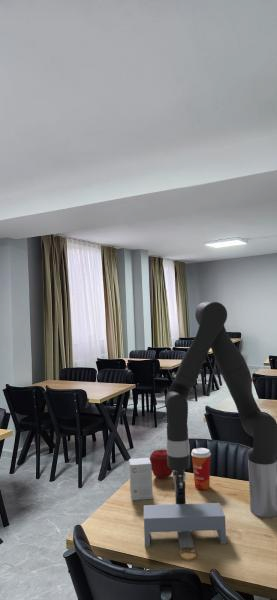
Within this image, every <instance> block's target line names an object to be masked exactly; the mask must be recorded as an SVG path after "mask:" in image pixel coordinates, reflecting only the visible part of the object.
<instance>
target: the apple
mask: <svg viewBox="0 0 277 600" xmlns="http://www.w3.org/2000/svg"><path fill="white" fill-rule="evenodd" d="M149 459H150V462H151V466H152V475H153V476H155V477H156V478H157V479H159V480H165V479H168V478H170V476H171V475H173V471H174V470H172V469H170V468H169V467H168V466H167V449H161V448H160V449H156V450H153V451H152V452H151V454H150V456H149Z"/></svg>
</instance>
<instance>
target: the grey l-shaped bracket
mask: <svg viewBox="0 0 277 600" xmlns="http://www.w3.org/2000/svg"><path fill="white" fill-rule="evenodd" d="M176 485H177V484H176ZM174 490H175V491H174V493H175V494H174V495H175V496H174V497H175V504H177V496H176V494H177V492H176V489H175V488H174ZM180 493H183V492H180ZM186 501H187V500H186V496H185V497H184V504H187V503H186ZM176 533H177V534H176V535H177V540H178V546H179V551H180V550H181V549H182V548H185V547H190V548H193V549H194V550H195V545H194V541H193V536H192V531H176Z"/></svg>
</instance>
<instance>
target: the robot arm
mask: <svg viewBox="0 0 277 600" xmlns="http://www.w3.org/2000/svg"><path fill="white" fill-rule="evenodd" d="M194 314H195V315H194V316H195V320H196V322H197V324H198V330H197V331H196V335H195V337H194V339H193V341H192V343H191V345H190V346H189V347H188V349H187V351H186V352H185V354H184V355H183V357H182V359H181V362H180V364H179V366H178V369H177V371H176V373H175V376H174V379H173V381H172V383H171V385H170V386H169V388H168V390H167V393H166V395H165V400H164V403H165V406H166V416H167V424H166V450H167V466H168V467H169V468H170V469H172V470H173V472H172V477H173V485H174V490H175V489H176V492H177V494H176V496H177V504H184V497H185V498H186V479H187V477H186V472H185V471H186V470H188V469H189V468H190V467H191V457H190V456H191V453H190V451H191V450H190V442H189V428H188V427H189V426H188V419H189V403H188V400H187V399H188V396H189V393H190V392H191V389H192V388H193V387H194V386H195V384H196V382H197V380H198V377H199V375H200V373H201V370H202V368H203V365H204V363H205V360H206V358H207V356H208V353H209V352H210V351H212V354H213V357H214V360H215V362H216V364H217V367H218V370H219V371H220V374H221V376H222V379H223V381H224V383H225V385H226V387H227V389H228V392H229V393H230V396H231V398H232V400H233V402H234V404H235V407H236V410H237V413H238V416H239V419H240V422H241V425H242V428H243V430H244V431H245V433H246V434H247V435H248V436H250V437H252V439H253V442H252V443H253V447H251V448H249V449H248V450H247V463H248V483H249V506H250V507H249V508H250V509H249V510H250V512H251V513H252V514H254V515H255V516H257V517H259V518H260V517H261V518H274V517H277V420H276V419H275V418H274V417H273V416H272V415H270V414H268V413H265V412H263V411H262V410H261V409H260V407H259V405H258V403H257V401H256V400H255V397H254V395H253V394H254V393H253V381H252V380H253V379H252V374H251V371H250V368H249V367H248V364H247V362H246V359H245V358H244V356H243V354H242V353H241V351H240V350H239V349H238V347H237V346H236V345H235V343H234V342H233V340H232V339H231V337H230V336H229V334H228V332H227V329H226V327H225V324H226V322H227V319H228V311H227V308H226V307H225V305H224V304H222V303H221V302H217V301H209V300H207V301H203V302H201V303H199V304H198V305H197V307H196V309H195V313H194ZM176 484H177V485H176ZM180 492H183V493H180Z"/></svg>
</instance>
